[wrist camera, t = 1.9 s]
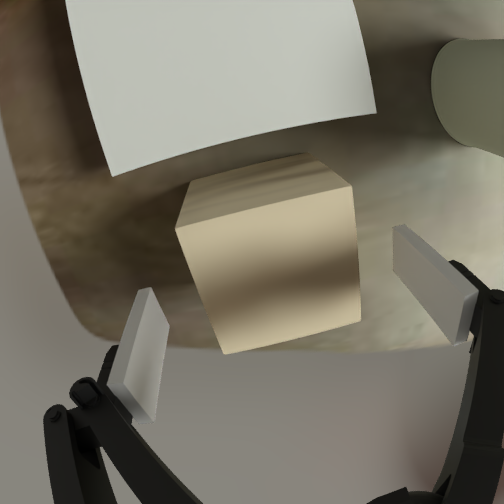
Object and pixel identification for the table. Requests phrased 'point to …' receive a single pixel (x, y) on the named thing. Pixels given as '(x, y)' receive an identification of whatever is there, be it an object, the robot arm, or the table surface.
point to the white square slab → (214, 71)
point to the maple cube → (272, 251)
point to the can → (471, 92)
